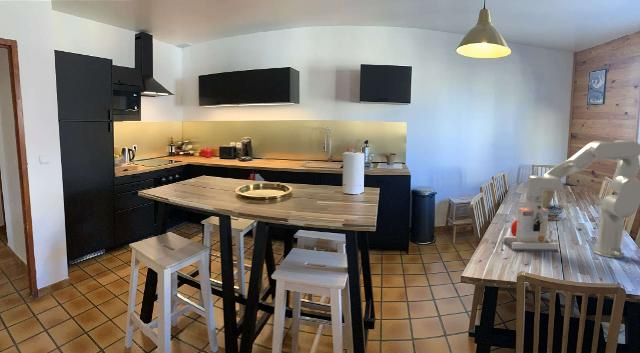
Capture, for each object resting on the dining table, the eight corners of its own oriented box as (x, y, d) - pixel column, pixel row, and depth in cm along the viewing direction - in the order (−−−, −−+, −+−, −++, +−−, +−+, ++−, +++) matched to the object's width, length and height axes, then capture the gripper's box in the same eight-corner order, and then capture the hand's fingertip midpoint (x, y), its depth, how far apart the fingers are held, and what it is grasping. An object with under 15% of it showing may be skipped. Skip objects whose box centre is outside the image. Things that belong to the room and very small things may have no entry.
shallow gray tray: (558, 251, 192) (558, 244, 192) (513, 250, 193) (513, 243, 192) (544, 243, 204) (545, 236, 204) (502, 242, 205) (503, 236, 204)
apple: (531, 243, 205) (533, 222, 203) (513, 241, 207) (515, 221, 205) (525, 237, 214) (527, 218, 212) (507, 236, 216) (509, 217, 214)
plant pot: (532, 208, 283) (534, 189, 281) (529, 204, 297) (531, 185, 294) (554, 210, 277) (556, 190, 275) (550, 206, 291) (552, 187, 288)
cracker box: (538, 243, 202) (542, 207, 198) (545, 247, 196) (549, 209, 192) (514, 243, 201) (517, 207, 198) (520, 247, 195) (524, 209, 192)
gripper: (551, 202, 186) (547, 233, 188) (532, 194, 203) (529, 224, 205) (536, 201, 186) (533, 233, 188) (519, 194, 203) (516, 223, 206)
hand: (531, 228), depth 197 cm, fingers open, 9 cm apart
